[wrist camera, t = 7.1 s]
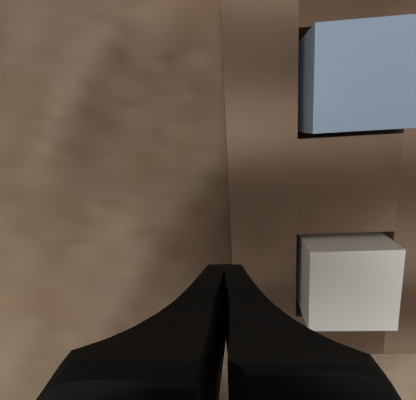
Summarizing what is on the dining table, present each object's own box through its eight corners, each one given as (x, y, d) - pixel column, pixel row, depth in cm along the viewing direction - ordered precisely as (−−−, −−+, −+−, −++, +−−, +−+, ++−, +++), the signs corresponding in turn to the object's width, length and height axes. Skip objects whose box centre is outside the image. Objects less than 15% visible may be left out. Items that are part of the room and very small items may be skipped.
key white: (363, 289, 19) (397, 330, 15) (292, 290, 20) (308, 331, 16) (368, 222, 18) (405, 249, 14) (293, 225, 19) (310, 252, 15)
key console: (407, 311, 21) (447, 353, 17) (235, 313, 22) (236, 353, 18) (443, -16, 16) (509, -58, 13) (221, 5, 17) (219, -28, 14)
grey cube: (375, 126, 17) (418, 127, 13) (294, 131, 17) (312, 133, 13) (381, 39, 16) (430, 12, 12) (294, 46, 16) (315, 22, 12)
